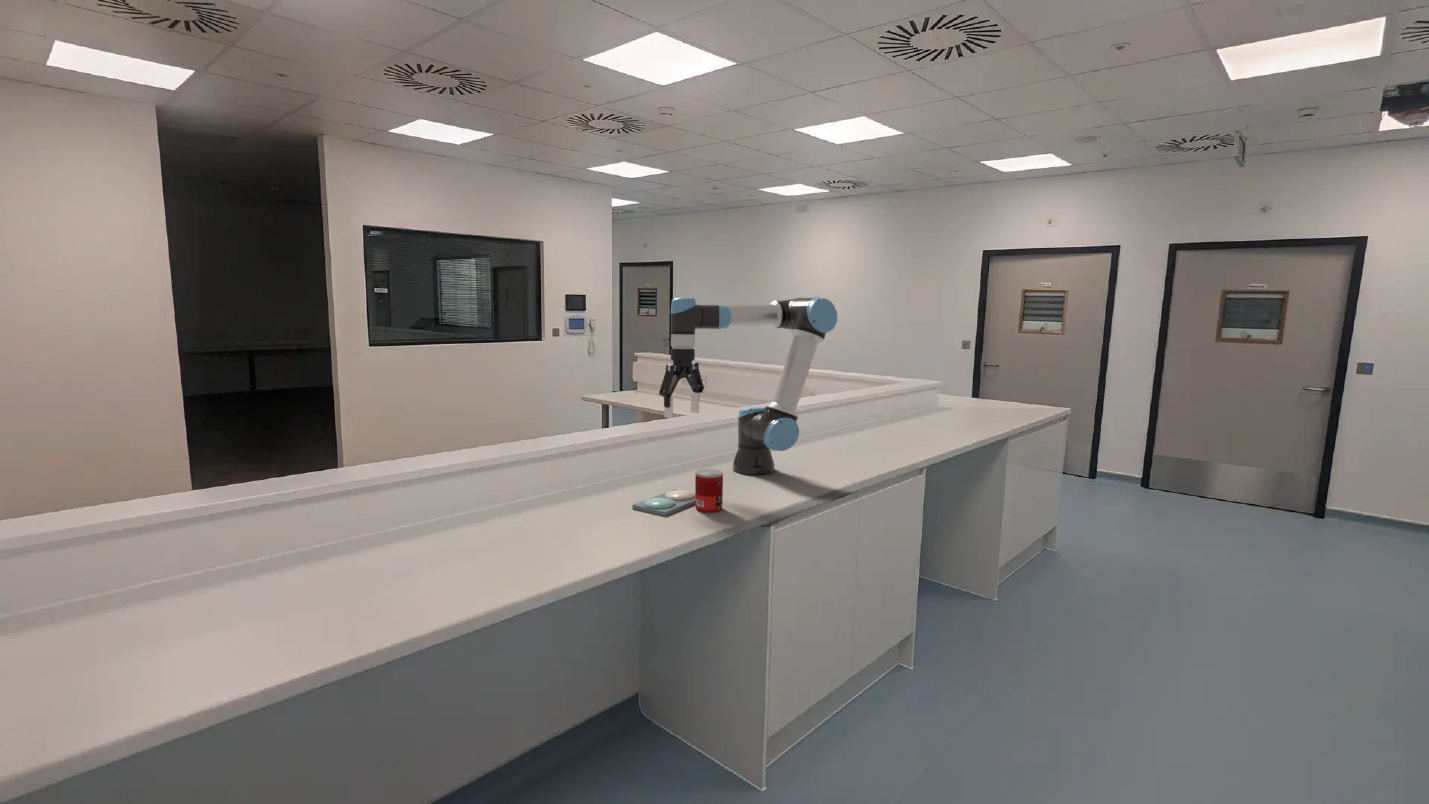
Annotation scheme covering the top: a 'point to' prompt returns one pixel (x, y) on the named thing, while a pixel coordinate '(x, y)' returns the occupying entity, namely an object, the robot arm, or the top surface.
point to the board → (679, 496)
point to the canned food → (708, 490)
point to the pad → (659, 503)
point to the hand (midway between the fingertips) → (682, 415)
